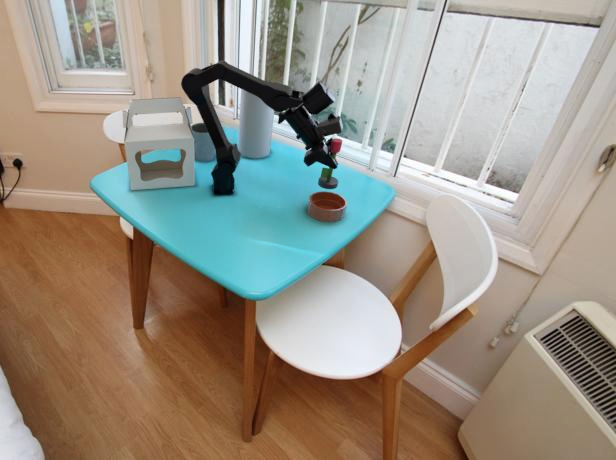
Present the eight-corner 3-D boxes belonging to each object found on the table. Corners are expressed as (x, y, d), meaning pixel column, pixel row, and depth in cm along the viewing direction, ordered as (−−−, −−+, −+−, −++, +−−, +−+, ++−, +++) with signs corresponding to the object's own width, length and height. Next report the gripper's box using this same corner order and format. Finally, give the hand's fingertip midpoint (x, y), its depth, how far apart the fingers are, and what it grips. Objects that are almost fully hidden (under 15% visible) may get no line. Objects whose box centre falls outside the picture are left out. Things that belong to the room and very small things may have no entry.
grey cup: (200, 149, 152) (200, 120, 145) (222, 155, 147) (222, 125, 140) (185, 158, 145) (184, 128, 138) (207, 165, 140) (207, 134, 133)
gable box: (192, 168, 139) (189, 90, 122) (195, 186, 128) (193, 103, 112) (131, 172, 137) (120, 94, 120) (130, 190, 126) (118, 107, 110)
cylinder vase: (272, 159, 143) (279, 92, 129) (239, 159, 144) (242, 93, 129) (267, 145, 153) (273, 82, 139) (236, 146, 154) (239, 82, 139)
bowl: (313, 224, 109) (316, 211, 106) (302, 204, 117) (304, 192, 114) (349, 222, 109) (352, 209, 106) (335, 203, 118) (338, 190, 115)
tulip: (338, 181, 114) (348, 137, 105) (336, 190, 109) (347, 145, 101) (319, 178, 115) (327, 135, 107) (316, 187, 111) (325, 142, 103)
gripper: (324, 118, 93) (361, 166, 96) (331, 96, 107) (363, 138, 110) (288, 144, 100) (323, 187, 103) (299, 120, 114) (330, 159, 117)
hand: (336, 166), depth 108 cm, fingers closed on tulip
